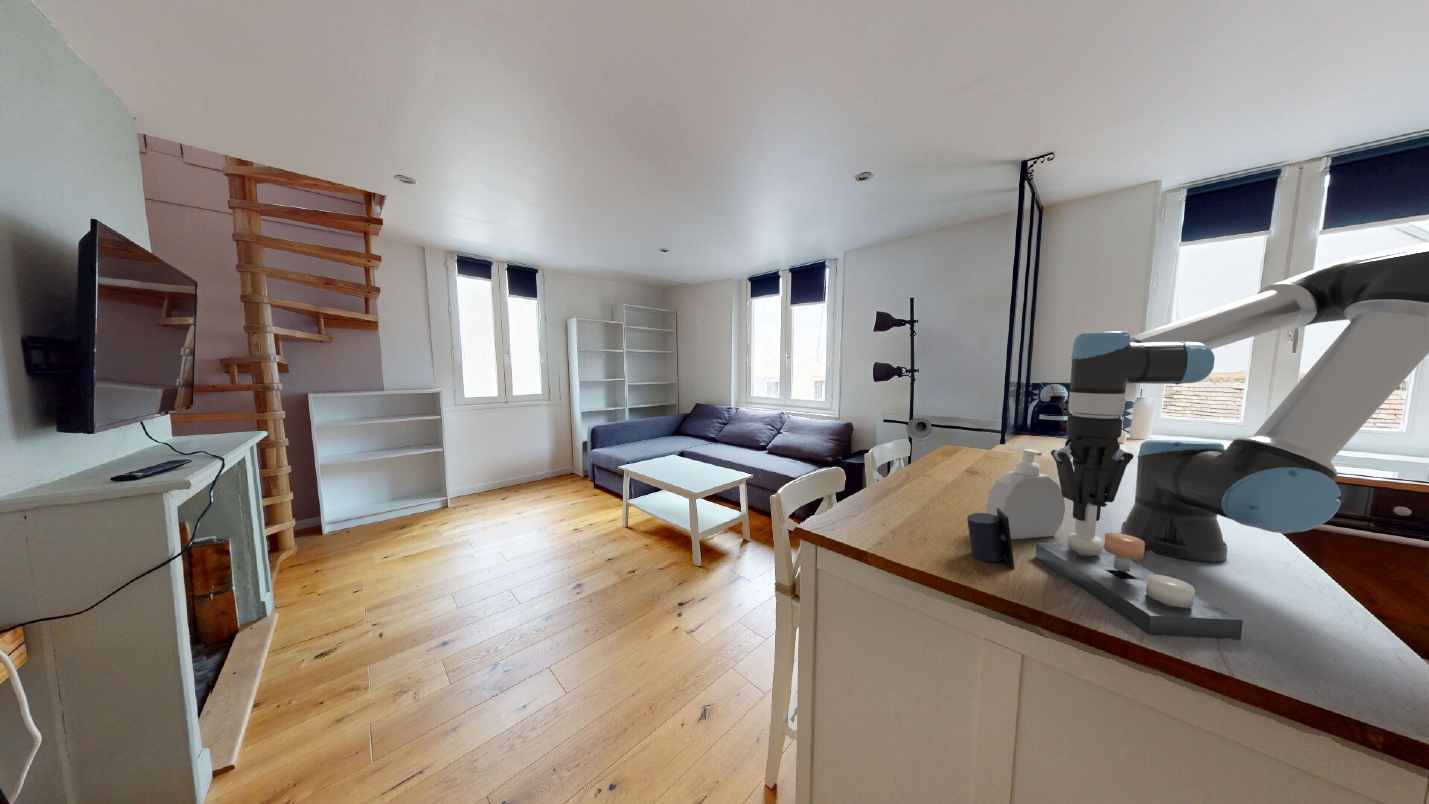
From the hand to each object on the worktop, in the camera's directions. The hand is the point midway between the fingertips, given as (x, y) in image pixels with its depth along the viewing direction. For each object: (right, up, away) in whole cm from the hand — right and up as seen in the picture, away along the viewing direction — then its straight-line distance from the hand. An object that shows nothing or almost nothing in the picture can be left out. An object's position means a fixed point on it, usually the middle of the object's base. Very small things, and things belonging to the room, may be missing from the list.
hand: (1084, 536), depth 77 cm
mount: (-1, -7, -7) cm, 10 cm away
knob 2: (-1, -7, -15) cm, 17 cm away
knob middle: (-1, -3, -8) cm, 8 cm away
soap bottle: (+1, -5, +16) cm, 17 cm away
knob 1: (0, -6, 0) cm, 6 cm away
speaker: (-15, -6, +5) cm, 17 cm away
